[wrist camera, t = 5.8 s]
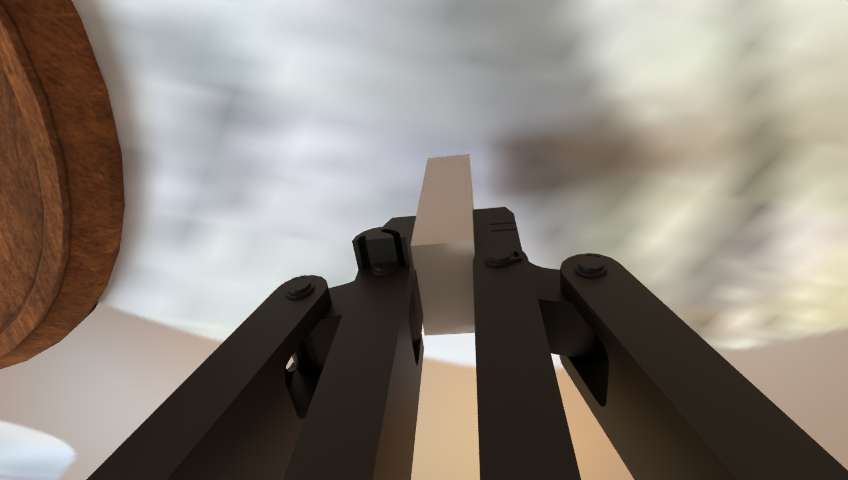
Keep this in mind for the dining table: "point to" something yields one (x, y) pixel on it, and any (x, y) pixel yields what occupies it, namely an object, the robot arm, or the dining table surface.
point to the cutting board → (53, 177)
